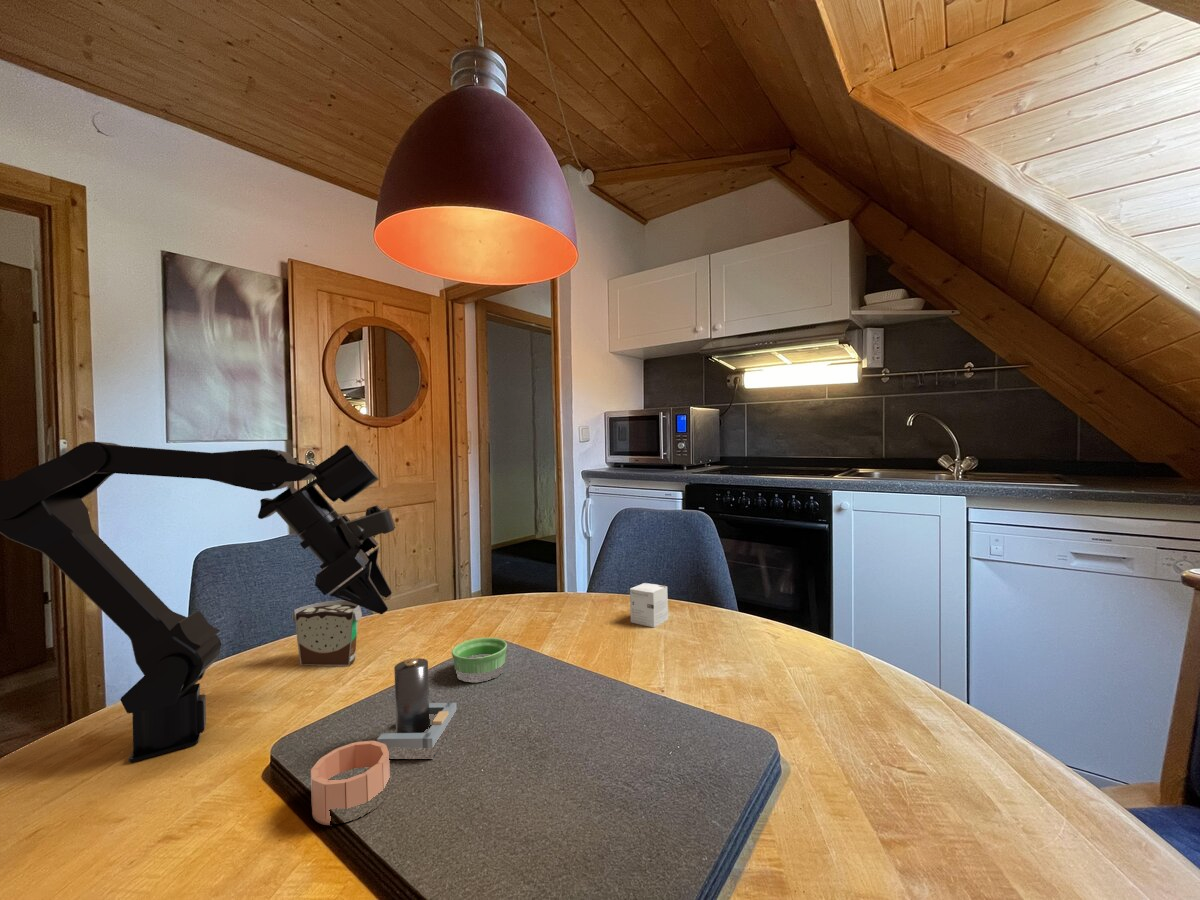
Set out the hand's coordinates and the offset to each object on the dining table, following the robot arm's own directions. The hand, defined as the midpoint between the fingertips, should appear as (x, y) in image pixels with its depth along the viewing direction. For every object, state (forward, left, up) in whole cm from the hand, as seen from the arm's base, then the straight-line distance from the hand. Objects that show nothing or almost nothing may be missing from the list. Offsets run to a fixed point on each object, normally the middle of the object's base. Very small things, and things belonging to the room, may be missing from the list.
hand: (387, 603), depth 72 cm
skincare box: (+52, +1, -15) cm, 54 cm away
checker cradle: (0, -13, -14) cm, 19 cm away
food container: (-5, +23, -15) cm, 28 cm away
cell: (0, -13, -14) cm, 19 cm away
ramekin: (+14, 0, -15) cm, 21 cm away
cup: (-8, -21, -14) cm, 26 cm away
